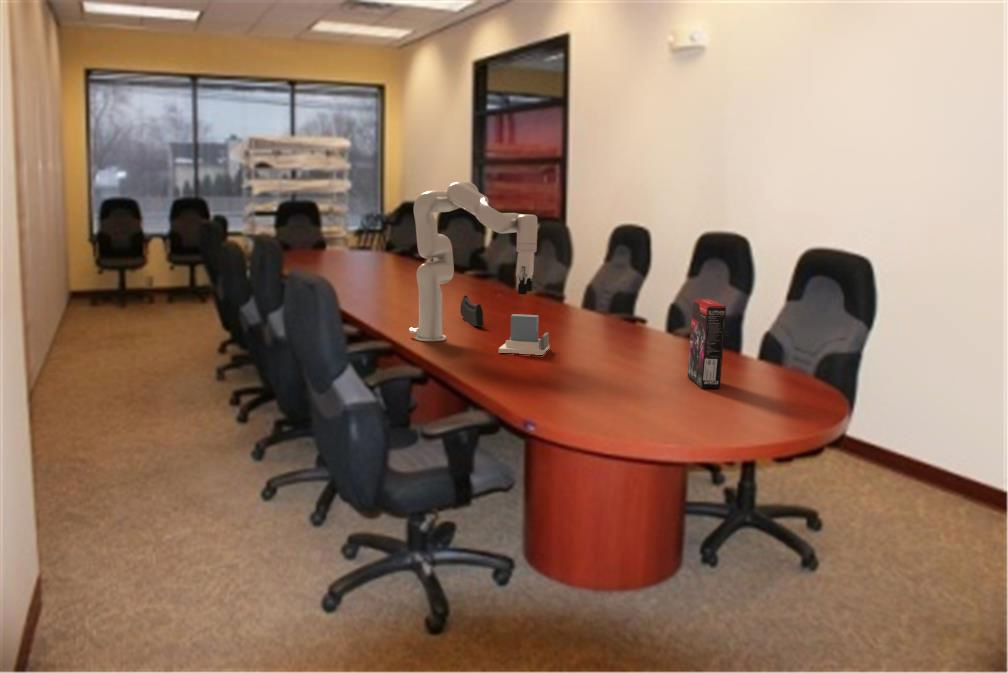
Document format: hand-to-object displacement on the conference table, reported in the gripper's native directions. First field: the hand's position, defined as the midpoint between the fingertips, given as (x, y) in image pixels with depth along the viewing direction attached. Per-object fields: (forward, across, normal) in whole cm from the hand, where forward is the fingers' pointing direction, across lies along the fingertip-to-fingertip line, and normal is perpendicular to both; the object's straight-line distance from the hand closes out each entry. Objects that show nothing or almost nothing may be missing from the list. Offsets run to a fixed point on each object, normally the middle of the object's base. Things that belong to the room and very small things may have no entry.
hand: (525, 292), depth 339 cm
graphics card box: (+22, +34, +69) cm, 80 cm away
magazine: (+24, -57, -36) cm, 72 cm away
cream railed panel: (+23, 0, +1) cm, 23 cm away
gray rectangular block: (+21, 0, 0) cm, 21 cm away
